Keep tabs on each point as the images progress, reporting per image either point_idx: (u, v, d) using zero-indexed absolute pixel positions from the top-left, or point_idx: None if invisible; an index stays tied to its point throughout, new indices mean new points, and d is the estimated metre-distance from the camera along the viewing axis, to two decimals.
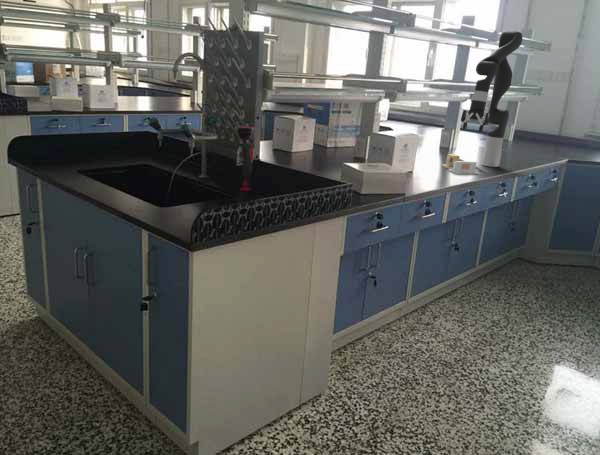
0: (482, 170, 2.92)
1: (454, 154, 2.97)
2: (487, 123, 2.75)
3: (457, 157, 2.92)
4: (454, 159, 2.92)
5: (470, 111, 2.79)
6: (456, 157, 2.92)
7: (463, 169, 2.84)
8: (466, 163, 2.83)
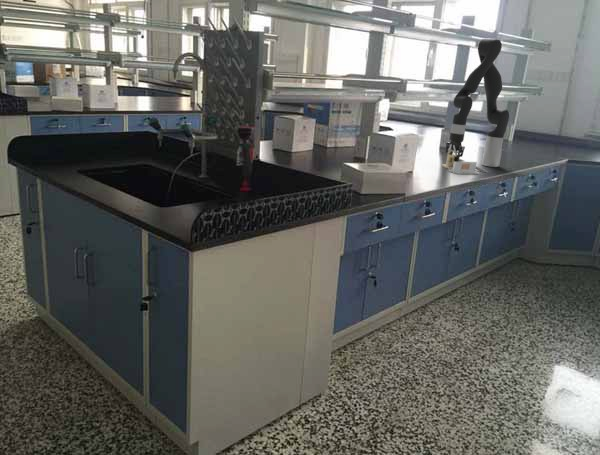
0: (482, 170, 2.92)
1: (454, 154, 2.97)
2: (461, 155, 2.89)
3: None
4: (454, 159, 2.92)
5: (450, 142, 2.94)
6: None
7: (463, 169, 2.84)
8: (466, 163, 2.83)
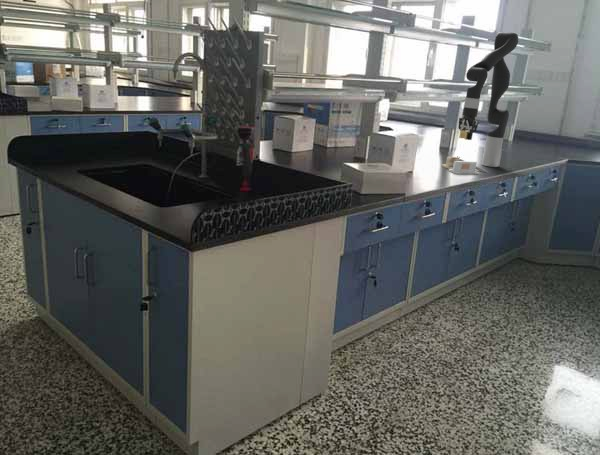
0: (482, 170, 2.92)
1: None
2: (474, 131, 2.76)
3: None
4: (467, 135, 2.79)
5: (463, 117, 2.82)
6: None
7: (463, 169, 2.84)
8: (466, 163, 2.83)
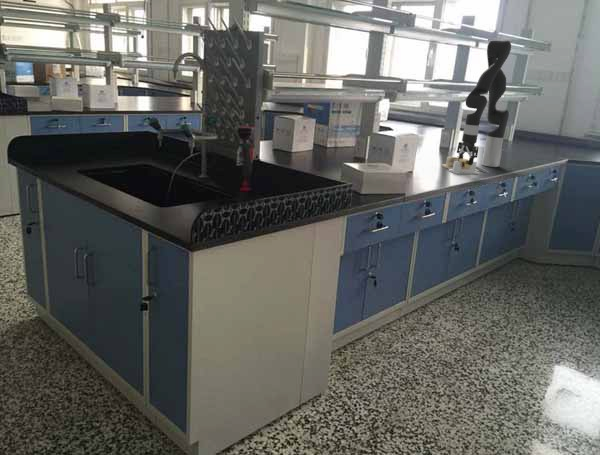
0: (482, 170, 2.92)
1: None
2: (476, 156, 2.76)
3: None
4: (466, 164, 2.81)
5: (463, 143, 2.83)
6: (468, 162, 2.81)
7: (463, 169, 2.84)
8: None
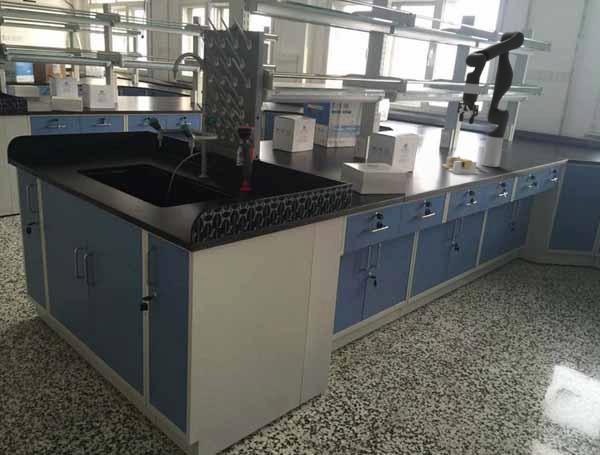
0: (482, 170, 2.92)
1: None
2: (476, 114, 2.81)
3: (469, 162, 2.81)
4: (466, 164, 2.81)
5: (463, 103, 2.87)
6: (468, 162, 2.81)
7: (463, 169, 2.84)
8: None
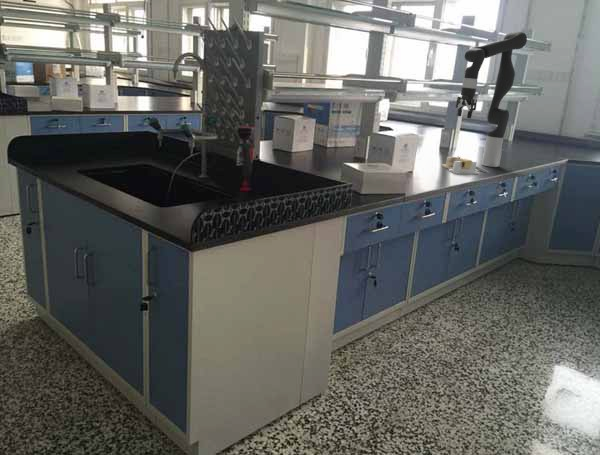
0: (483, 170, 2.92)
1: None
2: (474, 109, 2.83)
3: (469, 162, 2.81)
4: (466, 164, 2.81)
5: (462, 98, 2.90)
6: (468, 162, 2.81)
7: (463, 169, 2.84)
8: None
